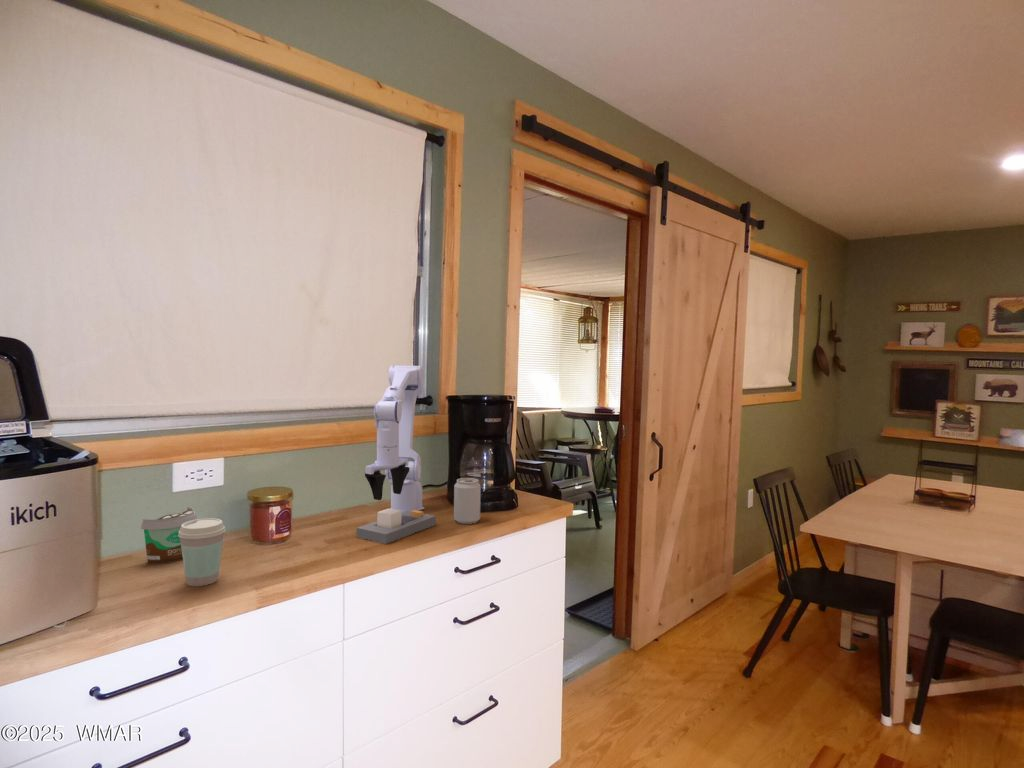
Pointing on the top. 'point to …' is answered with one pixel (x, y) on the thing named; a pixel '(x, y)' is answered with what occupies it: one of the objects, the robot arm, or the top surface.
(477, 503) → the can
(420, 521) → the grey slotted holder
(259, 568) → the top surface
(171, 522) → the food container
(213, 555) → the coffee cup
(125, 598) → the top surface
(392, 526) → the plug
